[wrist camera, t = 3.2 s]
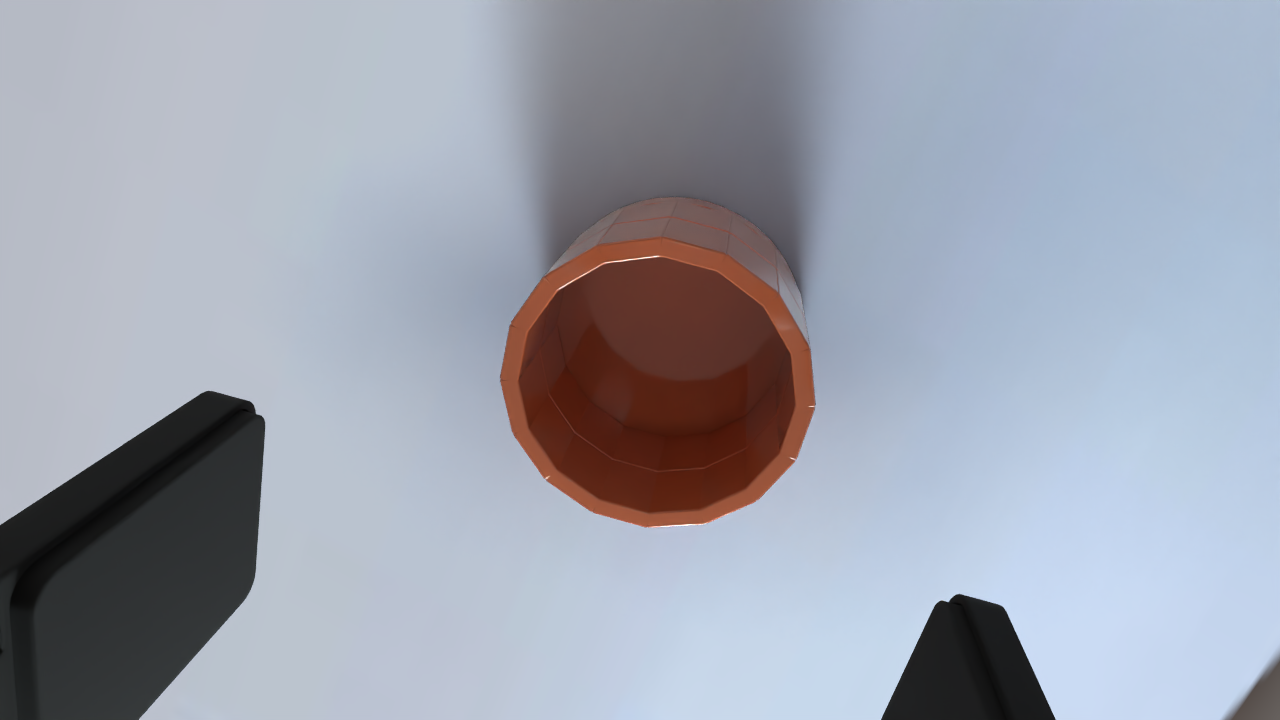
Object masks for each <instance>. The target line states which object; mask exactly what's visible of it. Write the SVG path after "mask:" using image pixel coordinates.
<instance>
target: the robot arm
mask: <svg viewBox="0 0 1280 720" xmlns="http://www.w3.org/2000/svg"><path fill="white" fill-rule="evenodd" d="M264 437H265V421H264V418H263V417H262V416H261V415H257V414H256V412H255V408H254V405H253V404H252V403H251V402H250V401H246V400H243V399H239V398H235V397H232V396H228V395H224V394H221V393H217V392H213V391H206V392H204V393H201V394H200V395H198V396H197V397H195V398H194V399H192V400H191V401H189V402H188V403H186V404H185V405H183V406H182V407H180V408H178V409H177V410H175V411H174V412H172V413H171V414H169V415H168V416H166V417H165V418H163V419H162V420H160V421H159V422H157V423H156V424H154V425H153V426H151V427H149V428H148V429H146V430H145V431H143V432H142V433H140V434H139V435H137V436H136V437H134V438H133V439H131V440H130V441H128V442H127V443H125V444H123V445H122V446H120V447H119V448H117V449H116V450H114V451H113V452H111V453H110V454H108V455H107V456H105V457H104V458H102V459H101V460H99V461H98V462H96V463H94V464H93V465H91V466H90V467H88V468H87V469H85V470H84V471H82V472H81V473H79V474H78V475H76V476H75V477H73V478H72V479H70V480H69V481H67V482H65V483H64V484H62V485H61V486H59V487H58V488H56V489H55V490H53V491H52V492H50V493H49V494H47V495H46V496H44V497H43V498H41V499H40V500H38V501H36V502H35V503H33V504H32V505H30V506H29V507H27V508H26V509H24V510H23V511H21V512H20V513H18V514H17V515H15V516H14V517H12V518H10V519H9V520H7V521H6V522H4V523H3V524H1V525H0V720H139V718H140V717H141V716H142V715H143V714H144V713H145V712H146V711H147V709H148V708H149V707H150V706H151V705H152V704H153V703H154V702H155V700H156V699H157V698H158V697H159V696H160V695H161V694H162V693H163V691H164V690H165V689H166V688H167V687H168V686H169V685H170V684H171V682H172V681H173V680H174V679H175V678H176V677H177V676H178V675H179V673H180V672H181V671H182V670H183V669H184V668H185V667H186V666H187V664H188V663H189V662H190V661H191V660H192V659H193V658H194V657H195V655H196V654H197V653H198V652H199V651H200V650H201V649H202V648H203V646H204V645H205V644H206V643H207V642H208V641H209V640H210V639H211V637H212V636H213V635H214V634H215V633H216V632H217V631H218V630H219V628H220V627H221V626H222V625H223V624H224V623H225V622H226V621H227V619H228V618H229V617H230V616H231V615H232V614H233V613H234V612H235V610H236V609H237V608H238V607H239V606H240V605H241V604H242V602H243V601H244V600H245V598H246V597H247V595H248V594H249V592H250V590H251V587H252V585H253V582H254V578H255V572H256V557H257V542H258V527H259V512H260V497H261V482H262V467H263V452H264ZM881 720H1056V719H1055V717H1054V715H1053V713H1052V711H1051V709H1050V706H1049V704H1048V702H1047V700H1046V698H1045V695H1044V693H1043V691H1042V689H1041V687H1040V684H1039V682H1038V680H1037V678H1036V676H1035V674H1034V671H1033V669H1032V667H1031V665H1030V663H1029V660H1028V658H1027V656H1026V654H1025V652H1024V650H1023V647H1022V645H1021V643H1020V641H1019V639H1018V636H1017V634H1016V632H1015V630H1014V628H1013V625H1012V623H1011V621H1010V619H1009V617H1008V615H1007V612H1006V611H1005V609H1004V608H1003V607H1002V606H1000V605H998V604H994V603H991V602H987V601H983V600H980V599H976V598H972V597H969V596H965V595H961V594H958V595H955V596H954V597H953V598H951V600H950V601H949V602H945V601H939V602H938V603H937V604H936V605H935V607H934V609H933V610H932V613H931V615H930V617H929V619H928V621H927V623H926V625H925V627H924V630H923V632H922V634H921V636H920V638H919V640H918V642H917V644H916V647H915V649H914V651H913V653H912V655H911V657H910V659H909V661H908V664H907V666H906V668H905V670H904V672H903V674H902V676H901V678H900V680H899V683H898V685H897V687H896V689H895V691H894V693H893V695H892V697H891V700H890V702H889V704H888V706H887V708H886V710H885V712H884V714H883V717H882V719H881Z"/></svg>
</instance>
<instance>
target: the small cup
mask: <svg viewBox="0 0 1280 720" xmlns="http://www.w3.org/2000/svg"><path fill="white" fill-rule="evenodd" d="M500 382H501V386H502V391H503V395H504V399H505V403H506V408H507V412H508V416H509V420H510V425H511V429H512V432H513V434H514V436H515V438H516V439H517V440H518V442H519V443H520V445H521V446H522V448H523V449H524V450H525V452H526V453H527V455H528V456H529V458H530V459H531V460H532V462H533V463H534V465H535V466H536V468H537V469H538V470H539V472H540V473H541V475H542V476H543V478H544V479H546V481H547V482H549V483H550V484H552V485H553V486H555V487H556V488H558V489H559V490H560V491H562V492H563V493H565V494H566V495H568V496H569V497H571V498H572V499H573V500H575V501H576V502H578V503H579V504H581V505H582V506H583V507H585V508H586V509H588V510H589V511H591V512H592V511H593V513H596V514H599V515H603V516H607V517H610V518H614V519H617V520H621V521H624V522H628V523H632V524H635V525H639V526H642V527H648V528H656V527H671V526H687V525H702V524H705V523H706V524H707V523H709V522H711V521H714V520H716V519H718V518H720V517H723V516H725V515H727V514H729V513H732V512H734V511H736V510H738V509H741V508H743V507H745V506H747V505H750V504H752V503H754V502H756V500H759V499H760V498H761V497H762V496H763V494H764V493H765V492H766V491H767V490H768V489H769V488H770V487H771V486H772V485H773V484H774V483H775V482H776V481H777V480H778V479H779V478H780V477H781V476H782V475H783V474H784V473H785V472H786V471H787V469H788V468H789V467H790V466H791V465H792V464H793V463H794V462H795V460H796V459H797V457H798V455H799V452H800V449H801V446H802V443H803V441H804V438H805V435H806V432H807V429H808V427H809V424H810V421H811V418H812V416H813V413H814V410H815V405H816V403H815V392H814V381H813V370H812V359H811V349H810V343H809V338H808V332H807V326H806V321H805V315H804V309H803V303H802V298H801V295H800V291H799V289H798V288H797V285H796V282H795V279H794V276H793V274H792V272H791V270H790V268H789V266H788V264H787V262H786V260H785V259H784V257H783V256H782V254H781V253H780V251H779V250H778V248H777V247H776V246H775V245H774V244H773V242H772V241H771V240H770V239H769V238H768V237H767V235H765V234H764V233H763V232H762V231H761V230H760V229H759V228H757V227H756V226H755V225H754V224H753V223H751V222H750V221H748V220H747V219H745V218H744V217H742V216H741V215H739V214H737V213H735V212H733V211H731V210H729V209H727V208H725V207H722V206H720V205H717V204H714V203H711V202H708V201H703V200H698V199H693V198H683V197H663V198H653V199H648V200H643V201H638V202H635V203H633V204H630V205H627V206H624V207H621V208H620V209H618V210H616V211H614V212H612V213H610V214H608V215H606V216H605V217H603V218H602V219H600V220H599V221H598V222H596V223H595V224H593V225H592V226H591V227H590V228H589V229H588V230H587V231H585V232H583V233H582V234H581V235H580V236H578V237H577V239H576V240H575V241H574V242H573V243H572V244H571V245H570V247H569V248H568V249H567V250H566V251H565V252H564V253H563V255H562V256H561V257H560V258H559V259H558V260H557V261H556V263H555V264H554V265H553V266H552V267H551V268H550V269H549V270H548V272H547V273H546V274H545V275H544V276H543V277H542V279H541V280H540V282H539V283H538V284H537V286H536V287H535V289H534V290H533V291H532V293H531V294H530V296H529V297H528V299H527V300H526V301H525V303H524V304H523V306H522V307H521V308H520V310H519V311H518V313H517V314H516V316H515V317H514V318H513V320H512V321H511V324H510V326H509V332H508V337H507V342H506V348H505V353H504V358H503V364H502V369H501V375H500Z"/></svg>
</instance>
